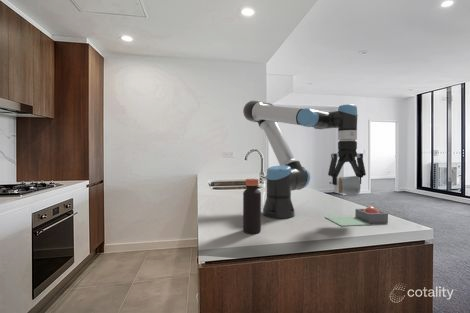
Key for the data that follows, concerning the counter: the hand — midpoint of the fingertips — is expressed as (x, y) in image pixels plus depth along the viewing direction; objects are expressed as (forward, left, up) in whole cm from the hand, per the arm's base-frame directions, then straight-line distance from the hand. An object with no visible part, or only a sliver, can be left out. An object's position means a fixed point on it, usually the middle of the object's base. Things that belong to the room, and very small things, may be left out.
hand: (346, 192), depth 105 cm
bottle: (-44, -7, -13) cm, 46 cm away
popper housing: (+12, 0, -13) cm, 18 cm away
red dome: (+12, 0, -12) cm, 17 cm away
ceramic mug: (0, -2, -1) cm, 3 cm away
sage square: (0, 0, -13) cm, 13 cm away
